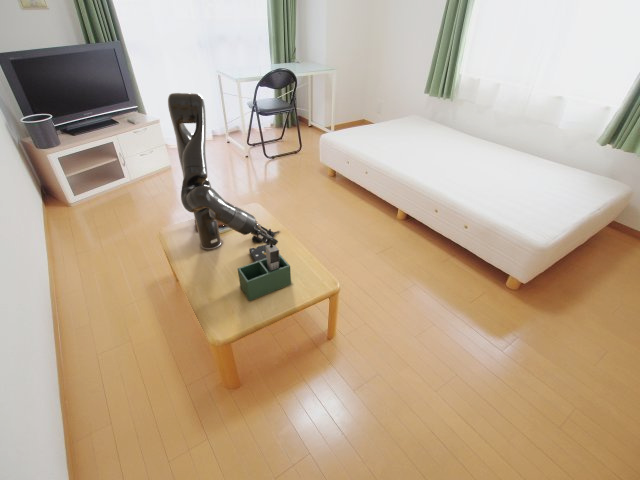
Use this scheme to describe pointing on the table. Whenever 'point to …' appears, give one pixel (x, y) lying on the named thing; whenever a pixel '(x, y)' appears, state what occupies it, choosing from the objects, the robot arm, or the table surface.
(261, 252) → the disk drive
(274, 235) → the gaming mouse
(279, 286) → the caddy
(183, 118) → the robot arm
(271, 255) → the vintage mobile phone
